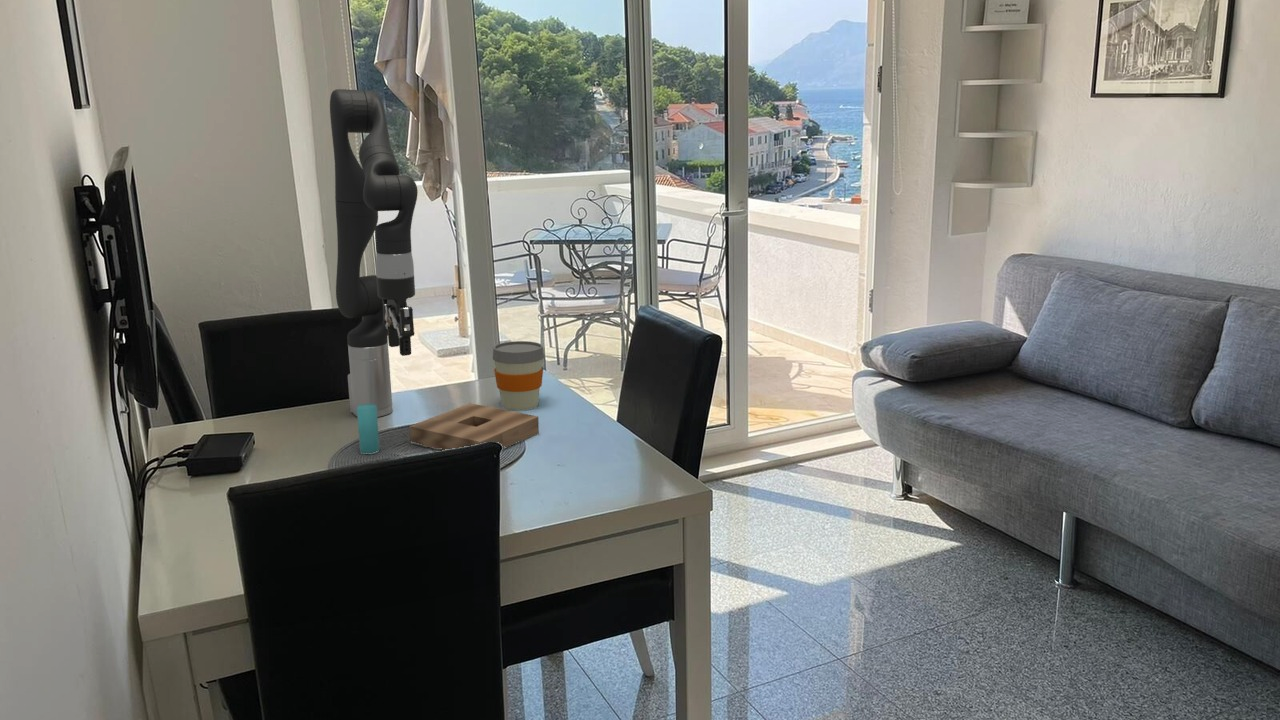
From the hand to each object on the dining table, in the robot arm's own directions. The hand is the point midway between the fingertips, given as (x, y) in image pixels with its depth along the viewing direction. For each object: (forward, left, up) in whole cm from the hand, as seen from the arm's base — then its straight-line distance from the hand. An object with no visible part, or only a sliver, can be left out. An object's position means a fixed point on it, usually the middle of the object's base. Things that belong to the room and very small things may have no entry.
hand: (399, 350), depth 193 cm
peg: (-6, -5, -22) cm, 23 cm away
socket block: (+8, +13, -22) cm, 27 cm away
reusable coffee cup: (+1, +38, -22) cm, 44 cm away
